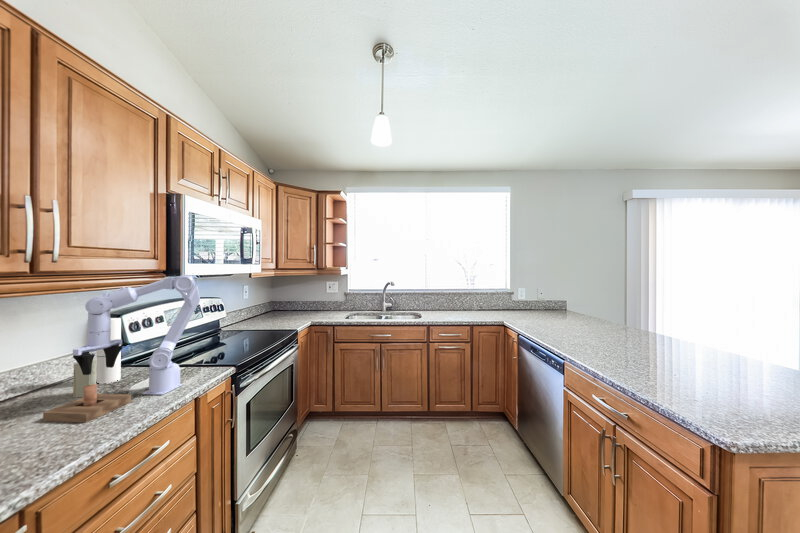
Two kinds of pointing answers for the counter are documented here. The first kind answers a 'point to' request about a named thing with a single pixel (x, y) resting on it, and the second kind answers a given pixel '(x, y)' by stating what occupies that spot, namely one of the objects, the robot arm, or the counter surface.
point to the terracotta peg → (90, 395)
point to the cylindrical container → (105, 372)
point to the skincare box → (83, 379)
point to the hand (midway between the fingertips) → (98, 370)
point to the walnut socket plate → (86, 408)
